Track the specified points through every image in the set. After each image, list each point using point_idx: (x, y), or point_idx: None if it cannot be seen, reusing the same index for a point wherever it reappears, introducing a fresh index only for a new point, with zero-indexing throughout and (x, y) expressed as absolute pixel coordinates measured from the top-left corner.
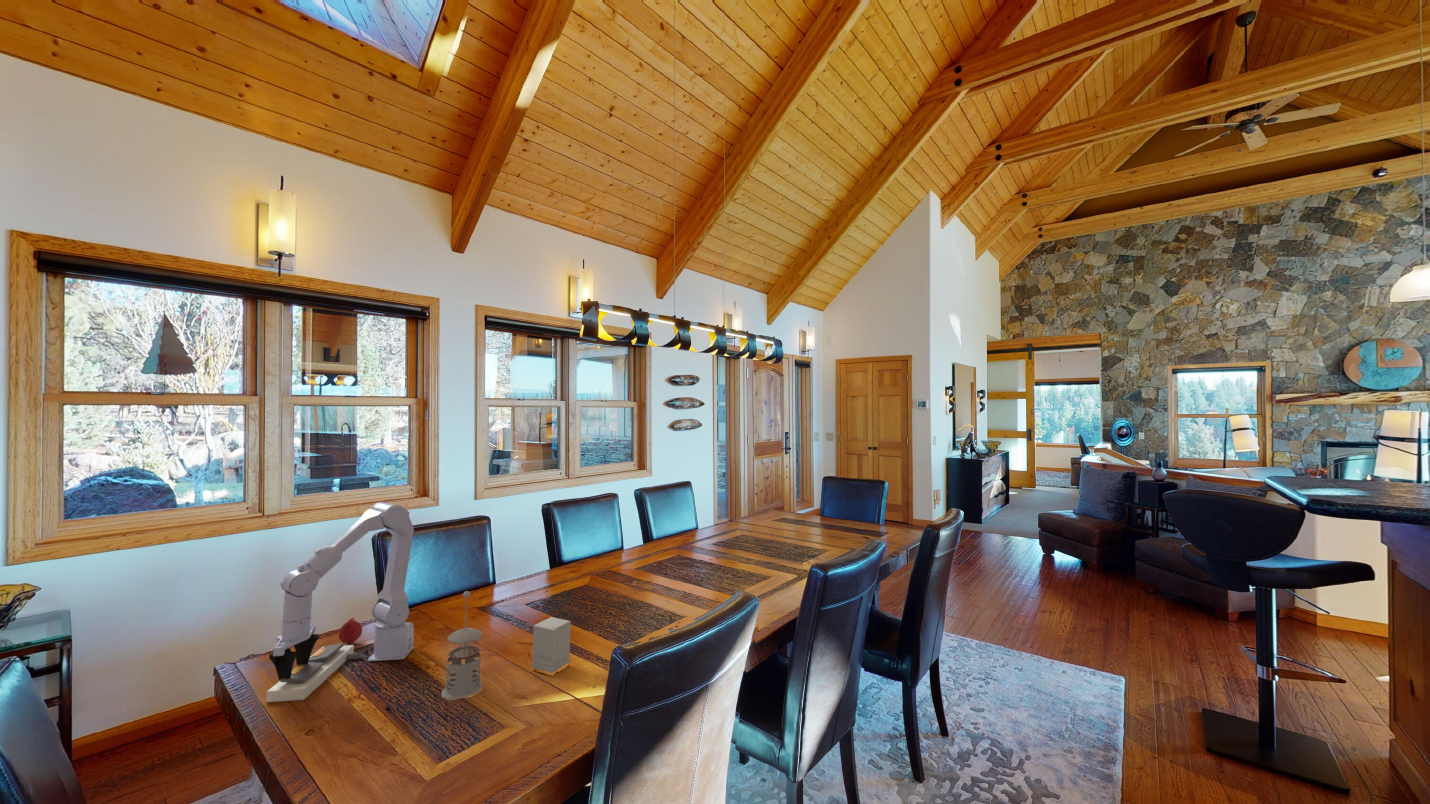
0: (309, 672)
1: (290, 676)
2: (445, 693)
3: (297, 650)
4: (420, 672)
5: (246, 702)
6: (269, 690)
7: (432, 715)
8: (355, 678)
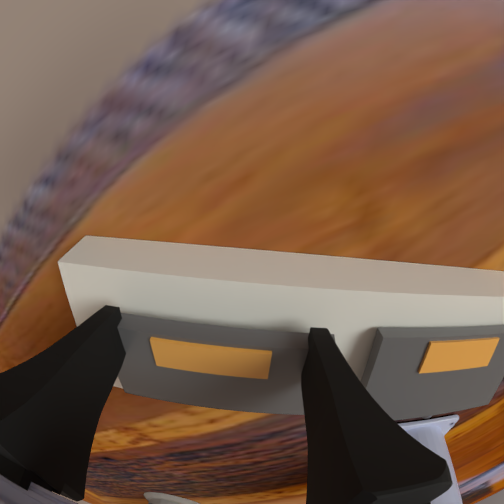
0: (190, 400)
1: (122, 356)
2: (154, 497)
3: (333, 415)
4: (256, 489)
5: (87, 143)
6: (66, 268)
7: (101, 477)
8: (257, 430)
